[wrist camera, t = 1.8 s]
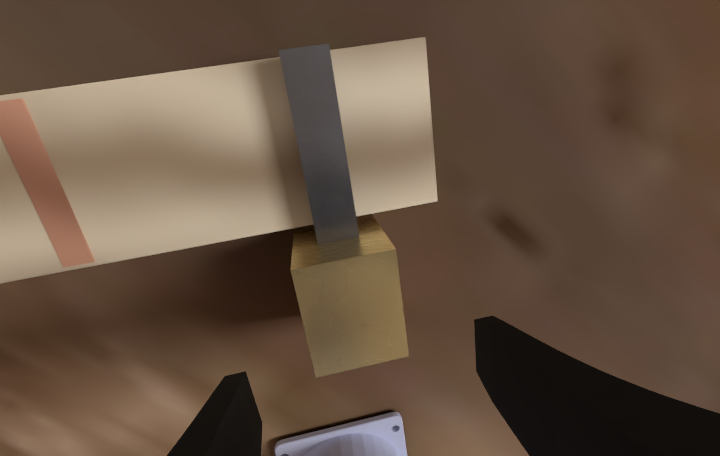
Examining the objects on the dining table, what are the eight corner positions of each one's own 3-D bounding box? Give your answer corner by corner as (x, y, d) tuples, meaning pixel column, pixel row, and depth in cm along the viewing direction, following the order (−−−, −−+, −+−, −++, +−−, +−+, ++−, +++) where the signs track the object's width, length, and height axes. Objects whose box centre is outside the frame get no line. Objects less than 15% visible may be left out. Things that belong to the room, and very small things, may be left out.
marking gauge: (383, 297, 19) (408, 355, 15) (313, 312, 19) (315, 377, 14) (348, 53, 15) (368, 25, 10) (258, 66, 15) (236, 43, 10)
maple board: (426, 194, 18) (438, 201, 16) (-189, 308, 15) (-244, 330, 13) (414, 44, 15) (426, 36, 14) (-315, 146, 13) (-400, 149, 11)
